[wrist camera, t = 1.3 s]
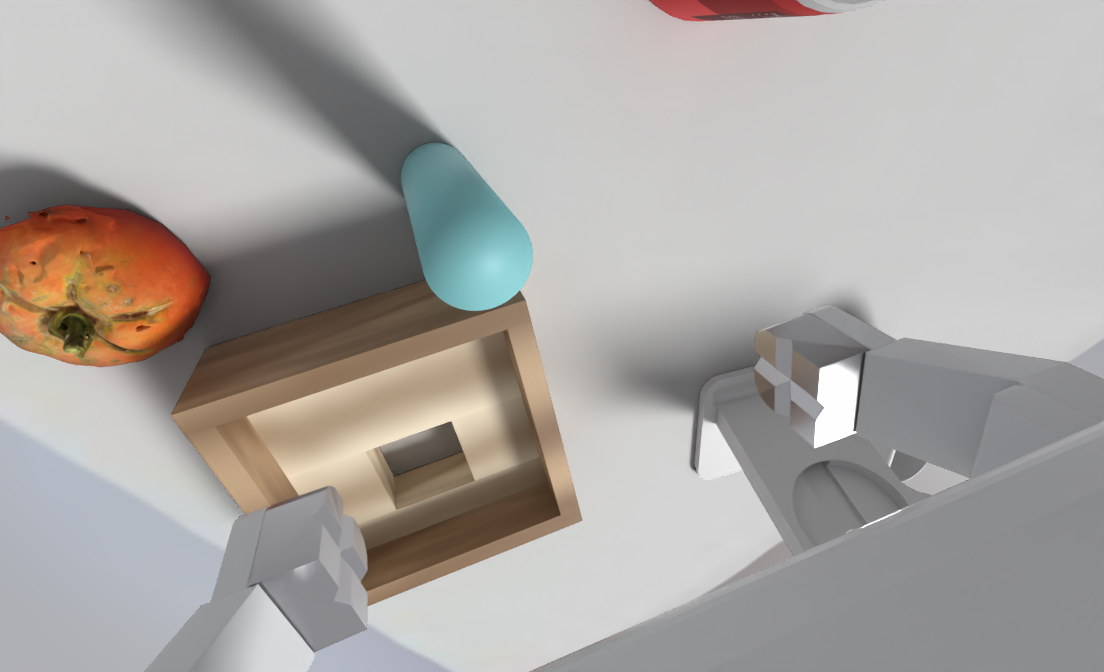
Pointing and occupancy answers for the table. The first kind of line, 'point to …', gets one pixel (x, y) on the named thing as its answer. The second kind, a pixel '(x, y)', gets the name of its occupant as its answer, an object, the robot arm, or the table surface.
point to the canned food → (756, 8)
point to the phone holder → (798, 465)
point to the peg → (463, 230)
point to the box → (391, 428)
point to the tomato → (96, 285)
